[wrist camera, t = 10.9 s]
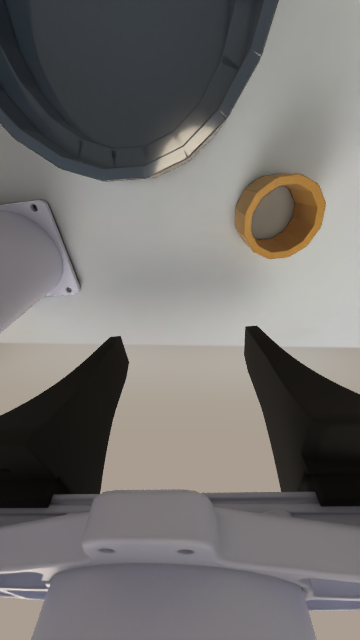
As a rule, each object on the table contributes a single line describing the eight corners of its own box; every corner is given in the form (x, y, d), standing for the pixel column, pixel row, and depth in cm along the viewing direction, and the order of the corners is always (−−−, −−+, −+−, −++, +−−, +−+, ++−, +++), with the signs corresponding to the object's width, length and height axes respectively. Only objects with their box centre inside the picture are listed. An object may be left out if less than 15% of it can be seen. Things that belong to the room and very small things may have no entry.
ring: (234, 248, 19) (243, 262, 16) (235, 179, 16) (246, 180, 13) (295, 241, 19) (315, 254, 16) (306, 170, 16) (333, 169, 13)
